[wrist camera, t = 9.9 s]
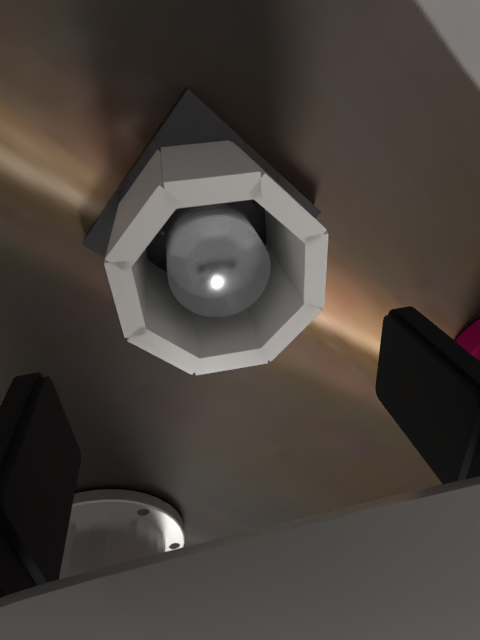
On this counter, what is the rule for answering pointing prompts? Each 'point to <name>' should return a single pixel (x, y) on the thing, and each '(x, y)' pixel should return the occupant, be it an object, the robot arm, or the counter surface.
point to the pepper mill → (471, 339)
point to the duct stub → (203, 224)
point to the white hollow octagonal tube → (152, 282)
